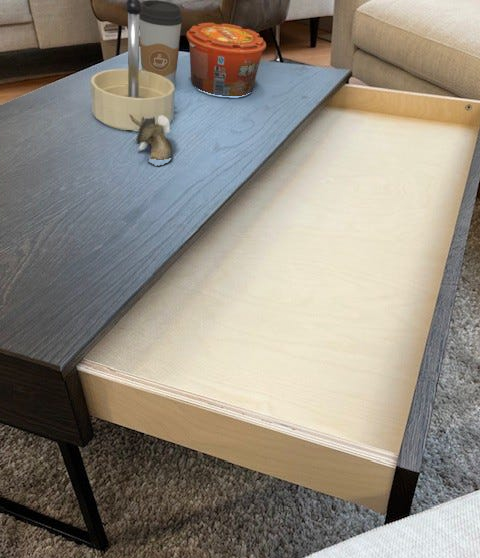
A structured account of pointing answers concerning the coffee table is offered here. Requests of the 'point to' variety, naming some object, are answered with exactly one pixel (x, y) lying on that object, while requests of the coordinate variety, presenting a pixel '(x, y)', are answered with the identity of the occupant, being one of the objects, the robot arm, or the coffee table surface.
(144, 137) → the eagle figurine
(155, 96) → the bowl
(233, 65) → the food container
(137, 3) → the ball-top lever stand
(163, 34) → the coffee cup
